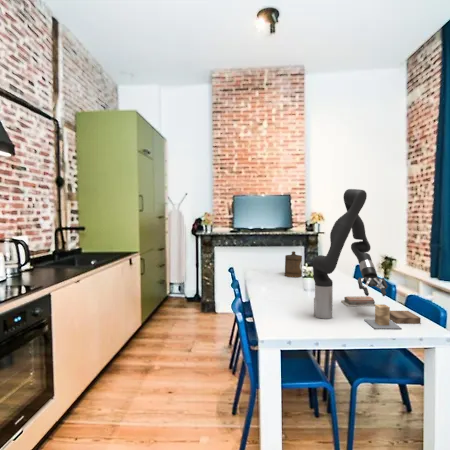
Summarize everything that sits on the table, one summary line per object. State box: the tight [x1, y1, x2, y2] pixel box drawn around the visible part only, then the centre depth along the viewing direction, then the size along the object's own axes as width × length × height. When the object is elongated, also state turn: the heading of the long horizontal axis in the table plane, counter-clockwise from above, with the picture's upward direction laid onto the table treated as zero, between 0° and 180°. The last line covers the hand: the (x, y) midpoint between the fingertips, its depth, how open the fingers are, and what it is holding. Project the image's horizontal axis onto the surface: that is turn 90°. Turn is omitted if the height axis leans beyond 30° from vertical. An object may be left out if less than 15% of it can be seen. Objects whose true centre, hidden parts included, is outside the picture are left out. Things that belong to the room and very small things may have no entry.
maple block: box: [374, 304, 391, 325], centre depth 166 cm, size 5×5×9 cm
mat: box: [364, 318, 402, 330], centre depth 166 cm, size 13×13×1 cm
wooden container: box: [284, 250, 303, 278], centre depth 293 cm, size 15×15×22 cm
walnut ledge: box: [390, 310, 421, 325], centre depth 174 cm, size 12×12×3 cm
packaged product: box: [340, 295, 376, 307], centre depth 203 cm, size 18×5×10 cm
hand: (376, 295), depth 173 cm, fingers open, 8 cm apart
